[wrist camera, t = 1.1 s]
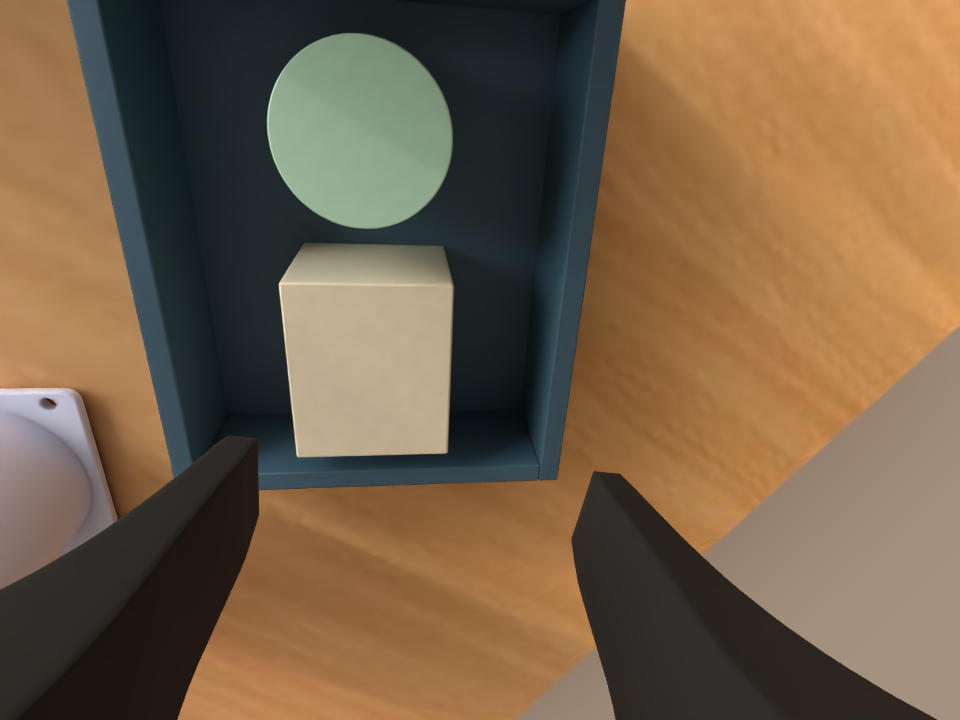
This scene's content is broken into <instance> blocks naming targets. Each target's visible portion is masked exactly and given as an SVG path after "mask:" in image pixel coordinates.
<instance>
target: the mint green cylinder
mask: <svg viewBox="0 0 960 720" xmlns="http://www.w3.org/2000/svg"><path fill="white" fill-rule="evenodd" d="M267 132H268V139H269V145H270V149H271V152H272V156H273V159H274V161H275V164H276V166H277V168H278V171H279V173H280V174H281V176H282V178H283V180H284V181H285V183H286V184H287V185H288V187H289V188H290V190H291V191H292V192H293V193H294V194H295V195H296V196H297V198H298V199H299V200H300V201H301V202H302V203H304V204H305V205H306V206H307V207H308V208H310V209H311V210H312V211H314V212H315V213H317V214H318V215H320V216H322V217H324V218H326V219H328V220H330V221H332V222H334V223H337V224H340V225H343V226H348V227H352V228H360V229H377V228H383V227H388V226H391V225H395V224H398V223H400V222H402V221H404V220H407V219H409V218H410V217H412V216H413V215H415V214H416V213H418V212H419V211H420V210H421V209H423V208H424V207H425V206H426V205H427V204H428V203H429V202H430V201H431V200H432V198H433V197H434V196H435V194H436V193H437V192H438V190H439V189H440V187H441V185H442V183H443V181H444V179H445V177H446V174H447V171H448V169H449V165H450V161H451V156H452V148H453V129H452V122H451V116H450V113H449V109H448V105H447V103H446V100H445V98H444V95H443V93H442V91H441V89H440V87H439V86H438V84H437V82H436V80H435V79H434V78H433V76H432V75H431V74H430V72H429V71H428V70H427V69H426V67H425V66H424V65H423V64H422V63H421V62H420V61H419V60H418V59H417V58H415V57H414V56H413V55H412V54H411V53H409V52H408V51H407V50H405V49H403V48H402V47H400V46H399V45H397V44H395V43H393V42H390V41H388V40H386V39H384V38H380V37H377V36H373V35H368V34H361V33H343V34H337V35H332V36H328V37H325V38H322V39H320V40H318V41H316V42H314V43H312V44H310V45H308V46H307V47H305V48H304V49H302V50H301V51H300V52H298V53H297V54H296V55H295V56H294V57H293V58H292V59H291V60H290V61H289V62H288V64H287V65H286V66H285V68H284V69H283V70H282V72H281V74H280V75H279V77H278V79H277V81H276V83H275V86H274V88H273V91H272V93H271V97H270V102H269V106H268V115H267Z"/></svg>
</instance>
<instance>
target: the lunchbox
mask: <svg viewBox="0 0 960 720" xmlns="http://www.w3.org/2000/svg"><path fill="white" fill-rule="evenodd" d="M625 3H626V0H67V5H68V9H69V14H70V18H71V23H72V27H73V32H74V36H75V40H76V45H77V49H78V54H79V58H80V63H81V67H82V71H83V76H84V80H85V85H86V89H87V94H88V98H89V103H90V107H91V111H92V116H93V120H94V125H95V129H96V134H97V138H98V142H99V147H100V151H101V156H102V160H103V165H104V169H105V174H106V178H107V182H108V187H109V191H110V196H111V200H112V205H113V209H114V213H115V218H116V222H117V227H118V231H119V236H120V240H121V244H122V249H123V253H124V258H125V262H126V267H127V271H128V276H129V280H130V284H131V289H132V293H133V298H134V302H135V307H136V311H137V315H138V320H139V324H140V329H141V333H142V338H143V342H144V347H145V351H146V355H147V360H148V364H149V369H150V373H151V378H152V382H153V386H154V391H155V395H156V400H157V404H158V409H159V413H160V418H161V422H162V426H163V431H164V435H165V440H166V444H167V449H168V453H169V457H170V462H171V466H172V471H173V475H174V478H175V477H177V476H178V475H179V474H180V473H182V472H183V471H184V470H185V469H186V468H188V467H189V466H190V465H191V464H193V463H194V462H195V461H196V460H198V459H199V458H200V457H201V456H202V455H204V454H205V453H206V452H207V451H209V450H210V449H211V448H212V447H213V446H215V445H216V444H217V443H218V442H220V441H221V440H222V439H224V438H225V437H226V436H235V437H245V438H256V439H258V469H259V490H273V489H302V488H331V487H359V486H388V485H417V484H446V483H475V482H504V481H533V480H538V479H539V480H557V476H558V470H559V463H560V456H561V449H562V442H563V435H564V428H565V421H566V414H567V407H568V400H569V393H570V386H571V379H572V372H573V365H574V358H575V351H576V344H577V337H578V330H579V323H580V316H581V309H582V302H583V295H584V288H585V281H586V274H587V267H588V261H589V254H590V247H591V240H592V233H593V226H594V219H595V212H596V205H597V198H598V191H599V184H600V177H601V170H602V163H603V156H604V149H605V142H606V135H607V128H608V121H609V114H610V107H611V100H612V93H613V86H614V79H615V72H616V65H617V58H618V52H619V45H620V38H621V31H622V24H623V17H624V10H625ZM343 33H361V34H368V35H373V36H377V37H380V38H384V39H386V40H388V41H390V42H393V43H395V44H397V45H399V46H400V47H402V48H403V49H405V50H407V51H408V52H409V53H411V54H412V55H413V56H414V57H415V58H417V59H418V60H419V61H420V62H421V63H422V64H423V65H424V66H425V67H426V69H427V70H428V71H429V72H430V74H431V75H432V76H433V78H434V79H435V80H436V82H437V84H438V86H439V87H440V89H441V91H442V93H443V95H444V98H445V100H446V103H447V105H448V109H449V113H450V116H451V122H452V129H453V148H452V156H451V161H450V165H449V169H448V171H447V174H446V177H445V179H444V181H443V183H442V185H441V187H440V189H439V190H438V192H437V193H436V194H435V196H434V197H433V198H432V200H431V201H430V202H429V203H428V204H427V205H426V206H425V207H424V208H423V209H421V210H420V211H419V212H418V213H416V214H415V215H413V216H412V217H410V218H409V219H407V220H404V221H402V222H400V223H398V224H395V225H391V226H388V227H383V228H377V229H360V228H352V227H348V226H343V225H340V224H337V223H334V222H332V221H330V220H328V219H326V218H324V217H322V216H320V215H318V214H317V213H315V212H314V211H312V210H311V209H310V208H308V207H307V206H306V205H305V204H304V203H302V202H301V201H300V200H299V199H298V198H297V196H296V195H295V194H294V193H293V192H292V191H291V190H290V188H289V187H288V185H287V184H286V183H285V181H284V180H283V178H282V176H281V174H280V173H279V171H278V168H277V166H276V164H275V161H274V159H273V156H272V152H271V149H270V145H269V139H268V132H267V115H268V106H269V102H270V97H271V93H272V91H273V88H274V86H275V83H276V81H277V79H278V77H279V75H280V74H281V72H282V70H283V69H284V68H285V66H286V65H287V64H288V62H289V61H290V60H291V59H292V58H293V57H294V56H295V55H296V54H297V53H298V52H300V51H301V50H302V49H304V48H305V47H307V46H308V45H310V44H312V43H314V42H316V41H318V40H320V39H322V38H325V37H328V36H332V35H337V34H343ZM304 243H339V244H382V245H424V246H443V247H444V250H445V254H446V258H447V261H448V265H449V269H450V273H451V277H452V281H453V285H454V302H453V329H452V356H451V383H450V409H449V436H448V452H447V453H444V454H408V455H371V456H334V457H297V453H296V444H295V434H294V425H293V415H292V405H291V396H290V386H289V377H288V367H287V358H286V348H285V339H284V329H283V320H282V310H281V301H280V291H279V282H280V281H281V279H282V278H283V276H284V274H285V273H286V271H287V270H288V268H289V266H290V265H291V263H292V262H293V260H294V258H295V257H296V255H297V253H298V252H299V250H300V249H301V247H302V245H303V244H304Z"/></svg>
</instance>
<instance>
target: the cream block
mask: <svg viewBox="0 0 960 720" xmlns="http://www.w3.org/2000/svg"><path fill="white" fill-rule="evenodd" d="M279 291H280V301H281V310H282V320H283V329H284V339H285V348H286V358H287V367H288V377H289V386H290V396H291V405H292V415H293V425H294V434H295V444H296V453H297V457H334V456H371V455H408V454H444V453H447V452H448V436H449V409H450V383H451V356H452V329H453V302H454V285H453V281H452V277H451V273H450V269H449V265H448V261H447V258H446V254H445V250H444V247H443V246H424V245H382V244H339V243H304V244H303V245H302V247H301V249H300V250H299V252H298V253H297V255H296V257H295V258H294V260H293V262H292V263H291V265H290V266H289V268H288V270H287V271H286V273H285V274H284V276H283V278H282V279H281V281H280V282H279Z"/></svg>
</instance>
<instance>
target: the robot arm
mask: <svg viewBox="0 0 960 720" xmlns="http://www.w3.org/2000/svg"><path fill="white" fill-rule="evenodd" d="M47 398H49V399H52V400H53V401H55V403H56V405H52V404H51V403H49V402H48V401H47ZM258 516H259V469H258V439H256V438H245V437H235V436H226V437H225V438H224V439H222V440H221V441H220V442H218V443H217V444H216V445H215V446H213V447H212V448H211V449H210V450H209V451H207V452H206V453H205V454H204V455H202V456H201V457H200V458H199V459H198V460H196V461H195V462H194V463H193V464H191V465H190V466H189V467H188V468H186V469H185V470H184V471H183V472H182V473H180V474H179V475H178V476H177V477H175V478H174V479H173V480H171V481H170V482H169V483H167V484H166V485H165V486H164V487H162V488H161V489H160V490H158V491H157V492H156V493H155V494H153V495H152V496H151V497H149V498H148V499H147V500H145V501H144V502H143V503H141V504H140V505H138V506H137V507H136V508H134V509H133V510H131V511H130V512H129V513H127V514H126V515H124V516H123V517H121V518H120V519H119V520H118V519H117V515H116V512H115V508H114V505H113V501H112V498H111V494H110V491H109V488H108V484H107V481H106V477H105V474H104V470H103V467H102V464H101V460H100V457H99V453H98V450H97V446H96V443H95V440H94V436H93V433H92V429H91V426H90V422H89V419H88V416H87V412H86V409H85V405H84V402H83V399H82V397H81V395H80V394H79V393H78V392H77V391H75V390H73V389H70V388H0V720H177V719H178V716H179V713H180V710H181V707H182V704H183V702H184V699H185V696H186V693H187V690H188V687H189V685H190V683H191V680H192V678H193V675H194V673H195V670H196V668H197V665H198V663H199V661H200V659H201V656H202V654H203V652H204V650H205V648H206V645H207V643H208V641H209V639H210V636H211V634H212V632H213V630H214V628H215V625H216V623H217V621H218V619H219V617H220V614H221V612H222V610H223V608H224V606H225V603H226V601H227V599H228V597H229V595H230V592H231V590H232V588H233V586H234V583H235V581H236V579H237V577H238V574H239V572H240V570H241V568H242V565H243V563H244V561H245V558H246V555H247V552H248V549H249V546H250V542H251V539H252V536H253V533H254V529H255V526H256V523H257V519H258ZM571 540H572V547H573V554H574V561H575V568H576V573H577V579H578V584H579V588H580V592H581V595H582V599H583V602H584V606H585V609H586V613H587V616H588V620H589V623H590V626H591V630H592V633H593V636H594V640H595V643H596V647H597V650H598V653H599V657H600V660H601V663H602V667H603V670H604V674H605V677H606V680H607V684H608V688H609V692H610V696H611V700H612V704H613V709H614V714H615V719H616V720H937V719H935V718H933V717H931V716H930V715H928V714H926V713H924V712H922V711H920V710H919V709H917V708H915V707H913V706H911V705H909V704H907V703H906V702H904V701H902V700H900V699H898V698H896V697H895V696H893V695H891V694H890V693H888V692H886V691H884V690H882V689H881V688H880V687H878V686H876V685H874V684H873V683H871V682H870V681H868V680H866V679H865V678H863V677H862V676H860V675H858V674H857V673H855V672H853V671H851V670H850V669H848V668H847V667H845V666H844V665H842V664H841V663H839V662H838V661H836V660H835V659H833V658H831V657H830V656H828V655H827V654H825V653H824V652H822V651H821V650H819V649H818V648H817V647H815V646H814V645H812V644H811V643H809V642H808V641H807V640H805V639H804V638H802V637H801V636H799V635H798V634H796V633H795V632H794V631H792V630H791V629H789V628H788V627H787V626H785V625H784V624H783V623H781V622H780V621H778V620H777V619H776V618H774V617H773V616H772V615H771V614H769V613H768V612H766V611H765V610H764V609H763V608H762V607H760V606H759V605H758V604H757V603H755V602H754V601H753V600H751V599H750V598H749V597H748V596H747V595H745V594H744V593H743V592H741V591H740V590H739V589H738V588H737V587H736V586H735V585H733V584H732V583H731V582H730V581H729V580H728V579H726V578H725V577H724V576H723V575H722V574H721V573H720V572H719V571H717V570H716V569H715V568H714V567H713V566H712V565H711V564H710V563H709V562H708V561H707V560H705V559H704V558H703V557H702V556H701V555H700V554H699V553H698V552H697V551H696V550H695V549H694V548H693V547H692V546H691V545H690V544H689V543H688V542H687V541H686V540H684V539H683V538H682V537H681V536H680V535H679V534H678V533H677V532H676V531H675V530H674V529H673V528H672V527H671V526H670V524H669V523H668V522H667V521H666V520H665V519H664V518H663V517H662V516H661V515H660V514H659V513H658V512H657V511H656V510H655V509H654V508H653V507H652V506H651V505H650V504H649V503H648V502H647V501H646V500H645V499H644V498H643V497H642V495H641V494H640V493H639V492H638V491H637V490H636V489H635V488H634V487H633V486H632V485H631V484H630V483H629V482H628V481H627V480H626V479H625V478H624V477H623V476H622V475H620V474H616V473H606V472H596V471H594V472H593V475H592V478H591V481H590V484H589V487H588V490H587V493H586V496H585V499H584V502H583V505H582V508H581V512H580V515H579V518H578V521H577V524H576V527H575V530H574V533H573V536H572V539H571ZM58 557H59V558H58Z"/></svg>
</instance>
